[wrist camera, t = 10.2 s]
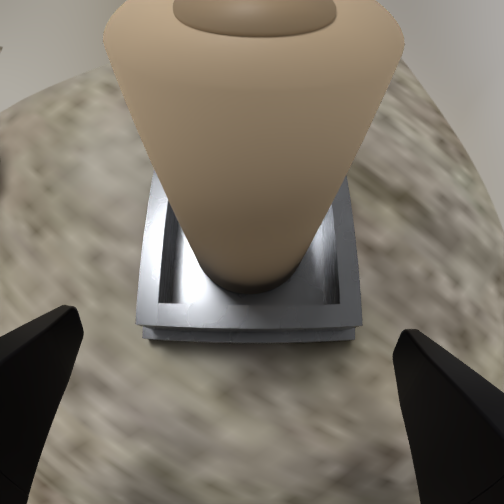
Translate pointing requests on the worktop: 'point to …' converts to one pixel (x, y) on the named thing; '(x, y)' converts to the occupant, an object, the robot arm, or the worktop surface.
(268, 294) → the dock
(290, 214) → the beige tapered cylinder
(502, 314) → the worktop surface
